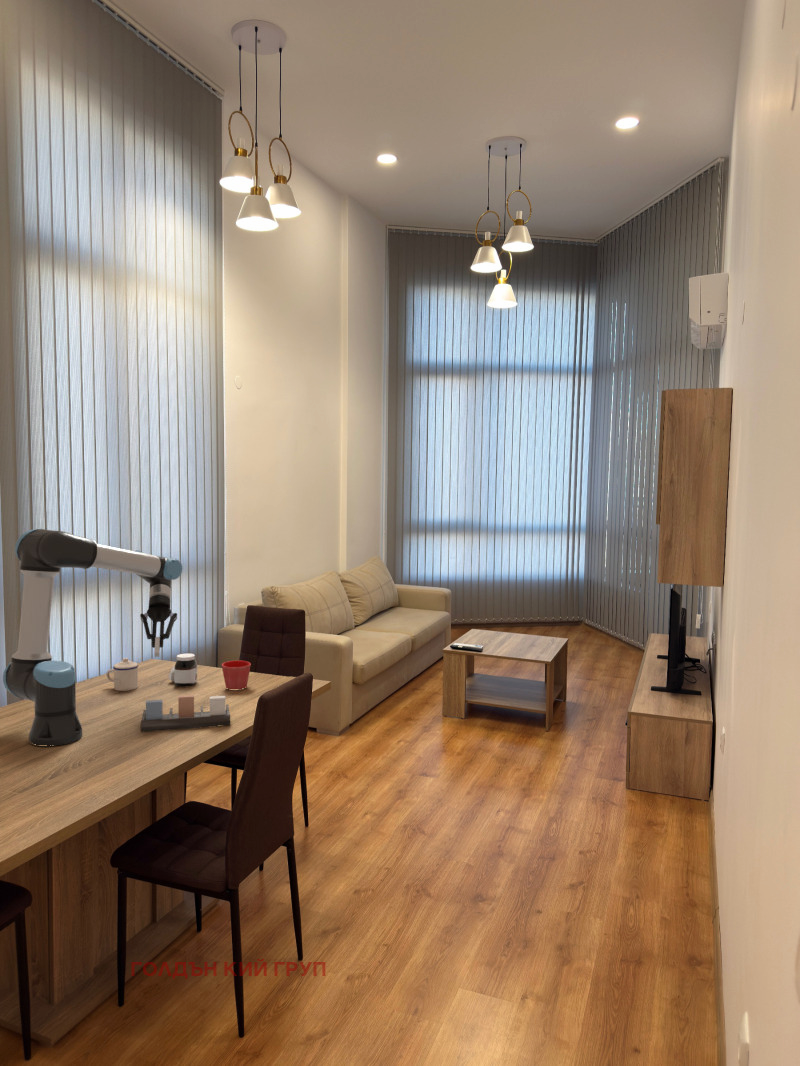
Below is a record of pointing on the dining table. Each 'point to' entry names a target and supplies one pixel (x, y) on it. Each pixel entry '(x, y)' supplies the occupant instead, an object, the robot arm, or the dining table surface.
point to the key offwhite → (217, 705)
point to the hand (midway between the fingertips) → (156, 654)
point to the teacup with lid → (124, 675)
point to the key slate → (154, 709)
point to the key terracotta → (186, 706)
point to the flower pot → (236, 674)
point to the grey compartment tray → (184, 721)
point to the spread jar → (184, 670)
